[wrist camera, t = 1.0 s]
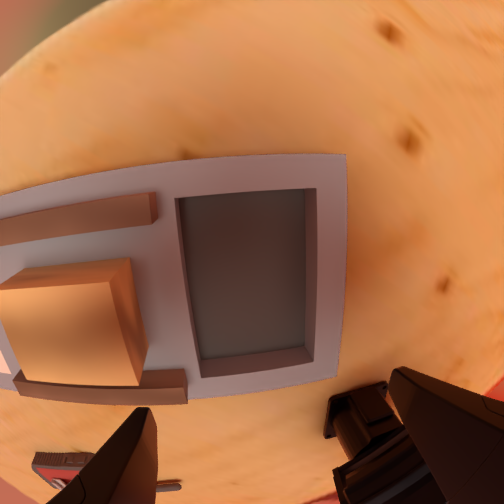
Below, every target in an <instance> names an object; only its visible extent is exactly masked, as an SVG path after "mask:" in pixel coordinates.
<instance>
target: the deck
mask: <svg viewBox="0 0 504 504" xmlns="http://www.w3.org/2000/svg"><path fill="white" fill-rule="evenodd" d="M153 191H155V192H156V202H157V212H158V219H157V220H156V221H155V222H154V223H153V224H152V225H145V226H136V227H128V228H120V229H112V230H104V231H97V232H90V233H82V234H75V235H68V236H62V237H55V238H48V239H42V240H36V241H29V242H23V243H17V244H12V245H6V246H0V284H1V283H3V282H4V281H6V280H7V279H9V278H10V277H12V276H13V275H15V274H16V273H18V272H19V271H21V270H22V269H24V268H32V267H41V266H50V265H59V264H68V263H78V262H87V261H96V260H106V259H115V258H125V257H130V263H131V268H132V274H133V279H134V284H135V289H136V294H137V299H138V303H139V308H140V312H141V317H142V321H143V325H144V329H145V333H146V337H147V341H148V345H149V348H148V352H147V355H146V359H145V363H144V367H143V371H145V370H167V369H183V368H184V370H185V374H186V378H187V382H188V399H202V398H213V397H223V396H232V395H240V394H248V393H255V392H261V391H268V390H274V389H280V388H285V387H291V386H296V385H301V384H306V383H311V382H315V381H320V380H324V379H328V378H333V377H336V376H337V369H338V361H339V353H340V343H341V334H342V323H343V311H344V298H345V282H346V260H347V166H346V154H266V155H244V156H228V157H214V158H203V159H192V160H182V161H173V162H165V163H157V164H149V165H142V166H135V167H129V168H122V169H116V170H110V171H105V172H99V173H94V174H88V175H83V176H78V177H74V178H69V179H64V180H60V181H55V182H51V183H47V184H43V185H39V186H35V187H31V188H27V189H23V190H19V191H16V192H12V193H9V194H5V195H2V196H0V219H3V218H7V217H11V216H15V215H20V214H24V213H29V212H33V211H38V210H43V209H48V208H53V207H58V206H63V205H69V204H74V203H80V202H86V201H91V200H98V199H104V198H110V197H117V196H124V195H131V194H138V193H146V192H153ZM20 369H21V367H20V365H19V363H18V361H17V359H16V357H15V354H14V352H13V350H12V347H11V345H10V343H9V340H8V338H7V335H6V333H5V330H4V328H3V325H2V322H1V320H0V388H2V389H7V390H12V391H18V390H17V388H16V387H15V385H14V383H13V381H12V380H13V379H14V377H15V376H16V375H17V373H18V372H19V370H20Z"/></svg>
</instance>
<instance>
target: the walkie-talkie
mask: <svg viewBox="0 0 504 504" xmlns="http://www.w3.org/2000/svg"><path fill="white" fill-rule="evenodd" d="M94 455H95V454H93V453H47V452H46V453H44V452H43V453H42V452H41V453H40V452H36V454H35V457H34V459H33V462H32V469H33V471H34V472H35V473H37V474H38V475H39V476H40V477H41V478H42V479H44V480H45V481H46V482H47V483H48V484H50V485H51V486H52V487H53V488H56V489H60V490H62V489H63V488H64V487H65V486H66V485H67V484H68V483H69V482H70V481H71V480H72V479H73V478H74V477H75V476H76V474H78V472H79V471H80V470H81V469H82V468H83V467H84V466H85V465H86V464H87V463H88V461H89V460H90V459H91V458H92V457H93V456H94ZM180 489H181V485H180V484H179V483H172V484H162V485H157V486H156V492H167V491H177V490H180Z"/></svg>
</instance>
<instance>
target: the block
mask: <svg viewBox="0 0 504 504" xmlns="http://www.w3.org/2000/svg"><path fill="white" fill-rule="evenodd" d="M0 320H1V322H2V325H3V328H4V330H5V333H6V335H7V338H8V340H9V343H10V345H11V347H12V350H13V352H14V354H15V357H16V359H17V361H18V363H19V365H20V367H21V369H22V371H23V373H24V375H25V377H26V379H27V380H33V381H42V382H52V383H63V384H78V385H101V386H139V383H140V379H141V375H142V371H143V367H144V363H145V359H146V355H147V352H148V348H149V345H148V341H147V337H146V333H145V329H144V325H143V321H142V317H141V312H140V308H139V303H138V299H137V294H136V289H135V284H134V279H133V274H132V268H131V263H130V257H125V258H115V259H106V260H96V261H87V262H78V263H68V264H59V265H50V266H41V267H32V268H24V269H22V270H21V271H19V272H18V273H16V274H15V275H13V276H12V277H10V278H9V279H7V280H6V281H4V282H3V283H1V284H0Z"/></svg>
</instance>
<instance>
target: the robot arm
mask: <svg viewBox="0 0 504 504" xmlns="http://www.w3.org/2000/svg"><path fill="white" fill-rule="evenodd" d="M387 390H388V391H389V394H390V396H391V398H392V400H393V402H394V404H395V407H396V409H397V411H398V413H399V416H400V418H401V420H402V422H403V424H402V423H401V421H400V420H399V419H398V417H397V416H396V415H395V413H394V410H393V409H392V408H391V406H390V405H389V404H388V402H387V401H386V400H385V397H386V393H387ZM323 436H324V438H325V439H329V438H333V437H336V436H337V438H338V440H339V442H340V444H341V446H342V447H343V449H344V451H345V453H346V455H347V457H348V459H349V461H348V462H347V463H345V464H343V465H342V466H340V467H336V468H335V469H333V470H332V471H333V475H334V477H333V479H334V482H335V486H336V490H337V493H338V497H339V501H340V504H504V402H502V401H499V400H495V399H492V398H489V397H486V396H483V395H480V394H477V393H474V392H471V391H469V390H466V389H463V388H460V387H457V386H455V385H452V384H449V383H446V382H444V381H441V380H438V379H436V378H433V377H430V376H428V375H425V374H423V373H420V372H417V371H415V370H412V369H410V368H407V367H404V366H401V367H398V368H395V369H394V370H393V371H392V374H391V377H390V381H389V384H388V383H387V382H381V383H378V384H375V385H372V386H369V387H365V388H362V389H359V390H355V391H352V392H348V393H345V394H341V395H337V396H334V397H332V398H330V400H329V403H328V410H327V416H326V422H325V428H324V434H323ZM157 474H158V454H157V426H156V422H155V420H154V417H153V414H152V412H151V410H150V408H148V407H137V408H136V409H135V410H134V411H133V412H132V413H131V414H130V416H129V417H128V418H127V419H126V420H125V421H124V422H123V423H122V425H121V426H120V427H119V428H118V429H117V430H116V431H115V432H114V434H113V435H112V436H111V437H110V438H109V439H108V440H107V441H106V443H105V444H104V445H103V446H102V447H101V448H100V449H99V450H98V451H97V453H96V454H95V455H94V456H93V457H92V458H91V459H90V460H89V461H88V463H87V464H86V465H85V466H84V467H83V468H82V469H81V470H80V471H79V472H78V474H76V476H75V477H74V478H73V479H72V480H71V481H70V482H69V483H68V484H67V485H66V486H65V487H64V488H63V489H62V490H61V491H60V492H59V493H58V494H57V495H55V496H54V497H53V498H52V499H51V500H50V501H48V502H47V503H46V504H155V498H156V486H157Z"/></svg>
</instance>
